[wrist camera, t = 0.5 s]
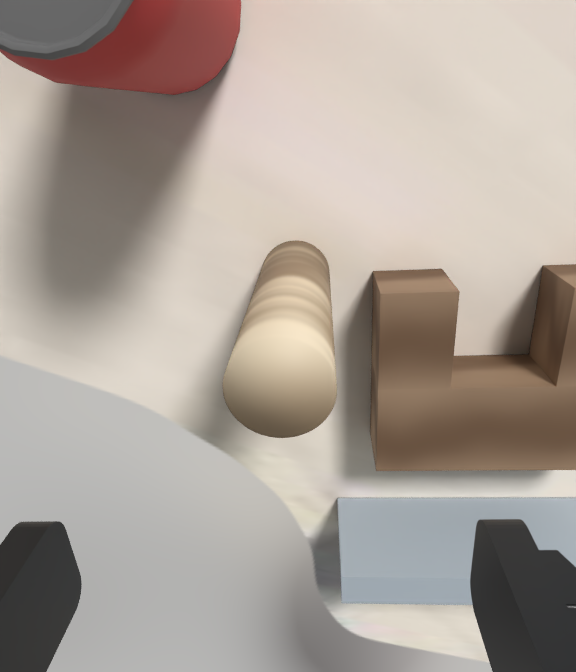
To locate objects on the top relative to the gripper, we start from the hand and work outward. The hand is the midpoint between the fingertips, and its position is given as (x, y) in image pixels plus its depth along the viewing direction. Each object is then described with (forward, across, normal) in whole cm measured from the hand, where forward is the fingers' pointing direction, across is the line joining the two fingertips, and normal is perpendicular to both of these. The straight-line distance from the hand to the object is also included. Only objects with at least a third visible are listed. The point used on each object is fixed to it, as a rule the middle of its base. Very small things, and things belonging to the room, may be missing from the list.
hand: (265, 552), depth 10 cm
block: (+18, -10, +5) cm, 21 cm away
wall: (+18, -10, +16) cm, 26 cm away
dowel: (+18, 0, 0) cm, 18 cm away
